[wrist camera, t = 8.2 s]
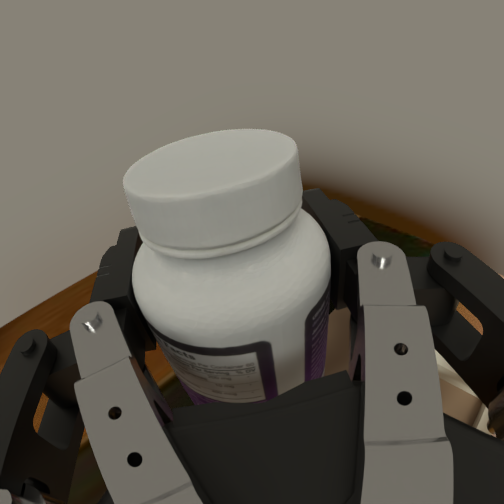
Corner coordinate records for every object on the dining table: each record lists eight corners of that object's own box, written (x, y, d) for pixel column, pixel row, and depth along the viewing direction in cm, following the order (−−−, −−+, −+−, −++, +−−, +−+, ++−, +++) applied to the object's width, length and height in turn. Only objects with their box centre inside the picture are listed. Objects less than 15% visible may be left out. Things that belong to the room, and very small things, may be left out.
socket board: (256, 394, 24) (252, 379, 23) (341, 307, 30) (343, 289, 29) (440, 511, 13) (454, 507, 12) (499, 390, 19) (512, 375, 18)
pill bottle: (272, 317, 16) (245, 112, 10) (349, 390, 12) (386, 149, 6) (174, 373, 14) (81, 169, 8) (237, 468, 10) (118, 263, 4)
